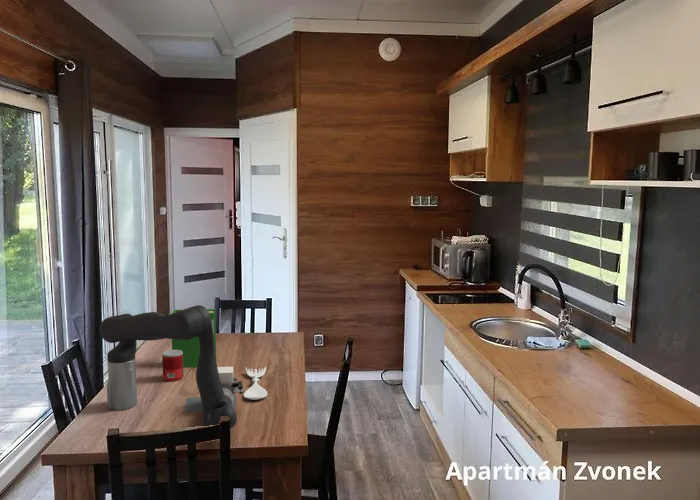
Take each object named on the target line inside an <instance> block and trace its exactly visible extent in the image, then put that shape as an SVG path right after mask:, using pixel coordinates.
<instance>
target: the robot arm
mask: <svg viewBox="0 0 700 500" xmlns="http://www.w3.org/2000/svg"><path fill="white" fill-rule="evenodd" d="M207 309H208V308H206V307H205V306H203V305H200V304H197V305H194V306H191V307H187V308H184V309H179V310H180V311H178V312H175V313H172V312H171V313H172V314H171V313H170V314H164V313H162V312H159V311H149V312H143V313H138V314H134V315H132V314H131V313H124V314H123V313H122V314H119V315H118V314H117V315H113V316H109V317H106V318H105V319H103V320H102V322H100V324H99V335H100V337H101V338H102V339H103V340H104V342H107V343H109V344H114V343H117V345H116V346H115V347H113V348H111V349H110V350H109V351H108V352H107V355H106V356H107V357H106V358H107V360H106V361H107V379H108V381H107V383H106V392H107V393H106V394H107V396H106V397H107V409H108V410H109V409H110V410H114V411H123V410H129V409H131V408H133V407H135V406H137V405H138V392H137V390H138V389H137V368H136V367H137V366H136V353H137V344H138V343H137V341H146V342H147V341H148V342H149V341H158V340H163V339H164V340H165V339H167V340H169V339H170V340H172V339H175V340H189V339H192V338H194V337H197V336H198V339H199V343H200V354H199V360H198V365H197V367H196V371H195V381H196V386H197V390H198V393H199V397H201V402H202V411H201V427H202V426H209V425H217V424H219V421H220V417H221V416H229V417H230V429H229V430H231V429H233V428H234V427H235V426H236V424H237V422H238V417H237V414H236V411H235V409H233V408H232V404H233V401H234V400H233V397H234V395H236V393H239V394H240V395H242V394H244V386H243V382H242V381H241V380H239V381H238V378H236V377H233V382H230V383H228V384H221V380H220V376H219V373H218V368H217V367H218V364H217V354H216V355H215V345H214V336H213V327H212V321H211V317H210V314H209V312H208V310H207Z"/></svg>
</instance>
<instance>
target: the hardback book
mask: <svg viewBox="0 0 700 500" xmlns="http://www.w3.org/2000/svg"><path fill="white" fill-rule="evenodd" d="M206 309H207V310H208V312H209V314H210V317H211V321H212V327H213V336H214V345H215V355H216V356H217V333H216V332H217V331H216V330H217V329H216V322H217V321H216V308H206ZM180 310H181V309H174V310H172V312H171V313H170V314H172V313H175V312H178V311H180ZM171 350H181V351H183V369H186V368H197V365H198V360H199V354H200V343H199V339H198V336H197V337H194V338H192V339H189V340H175V339H171Z"/></svg>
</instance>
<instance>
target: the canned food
mask: <svg viewBox="0 0 700 500" xmlns="http://www.w3.org/2000/svg"><path fill="white" fill-rule="evenodd" d="M161 354H162V355H161V356H162V378H163V380H164V381H166V382H176V381H177V382H178V381H180V380H182V379H183V378H184V368H183V351H181V350H172V349H170V350H169V349H168V350H165V351H164V352H162V353H161Z"/></svg>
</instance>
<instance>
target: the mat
mask: <svg viewBox="0 0 700 500" xmlns="http://www.w3.org/2000/svg"><path fill="white" fill-rule="evenodd" d="M233 400H234V401H233V404H232V408H233V409H234V410H236V409H237V408H236V407H237V394H234V397H233ZM184 404H185V405H184V406H183V407H184V408H183V412H182V413H184V414H185V413H199V412H201V413H202V402H201V397H200V396H198V397H197V396H195V397H187V398H186V402H185V403H184Z"/></svg>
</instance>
